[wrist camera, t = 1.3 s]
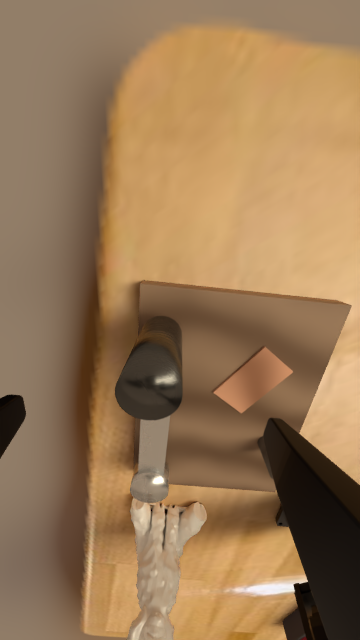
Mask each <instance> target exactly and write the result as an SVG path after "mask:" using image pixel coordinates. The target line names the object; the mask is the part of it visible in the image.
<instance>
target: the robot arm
mask: <svg viewBox="0 0 360 640" xmlns="http://www.w3.org/2000/svg"><path fill="white" fill-rule="evenodd" d="M25 416H26V411H25V406H24V401H23V397H21V396H20V395H6V396H4V397H2V398H0V458H1V456H2V455H3V453H4V452H5V450H6V448H7V447H8V445H9V444H10V442H11V440H12V439H13V437H14V436H15V434H16V432H17V431H18V429H19V428H20V426H21V424H22V423H23V421H24V419H25ZM263 440H264V444H265V448H266V452H267V456H268V460H269V464H270V468H271V472H272V476H273V480H274V483H275V487H276V490H277V493H278V496H279V499H280V502H281V505H282V506H281V509H280V511H279V513H278V515H277V517H276V520H275V521H276V524H277V525H278V526H286V527H289V529H290V531H291V534H292V537H293V540H294V543H295V545H296V548H297V551H298V554H299V557H300V560H301V563H302V566H303V568H304V571H305V574H306V577H307V580H308V582H305V583H302V584H299V583H296V584H294V589H295V593H294V594H295V597H296V601H297V605H298V609H299V612H300V616H301V620H302V624H303V628H304V632H305V635H306V639H307V640H360V485H359V484H358V483H357V482H355V481H354V480H353V479H352V478H351V477H350V476H348V475H347V474H346V473H345V472H344V471H342V470H341V469H340V468H339V467H338V466H337V465H335V464H334V463H333V462H332V461H331V460H330V459H328V458H327V457H326V456H325V455H324V454H322V453H321V452H320V451H319V450H318V449H317V448H315V447H314V446H313V445H312V444H311V443H310V442H308V441H307V440H306V439H305V438H304V437H302V436H301V435H300V434H299V433H298V432H297V431H295V430H294V429H293V428H292V427H291V426H290V425H288V424H287V423H286V422H285V421H284V420H282V419H281V418H273V417H271V418H269V419H268V421H267V424H266V427H265V430H264V434H263Z"/></svg>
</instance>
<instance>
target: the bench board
mask: <svg viewBox="0 0 360 640" xmlns="http://www.w3.org/2000/svg"><path fill="white" fill-rule="evenodd" d="M350 309H351V305H349V304H346V303H343V302H340V301H337V300H327V299H318V298H308V297H299V296H289V295H279V294H270V293H260V292H251V291H241V290H232V289H222V288H212V287H203V286H193V285H184V284H174V283H165V282H155V281H145V280H143V281H142V282H141V283H140V300H139V329H138V337H139V334H140V332H141V330H142V328H143V326H144V324H145V323H146V322H147V321H148V320H149V319H151V318H153V317H155V316H167V317H170V318H172V319H174V320H175V321H176V322H177V323H178V324H179V326H180V328H181V330H182V377H183V397H182V402H181V404H180V406H179V408H178V409H177V410H176V411H175V412H174V413H173V414H171V415H170V422H169V431H168V440H167V449H166V458H165V462H166V463H167V464H168V466H169V484H174V485H188V486H201V487H215V488H228V489H242V490H255V491H268V492H275V490H276V487H275V483H274V480H273V476H272V472H271V468H270V464H269V460H268V456H267V452H266V448H265V444H264V440H263V434H264V430H265V427H266V424H267V421H268V419H269V418H271V417H273V418H281V419H282V420H284V421H285V422H286V423H287V424H288V425H290V426H291V427H292V428H293V429H294V430H295V431H297V432H298V433H299V432H300V430H301V427H302V425H303V423H304V420H305V418H306V415H307V413H308V411H309V408H310V406H311V403H312V401H313V398H314V396H315V394H316V391H317V389H318V386H319V384H320V381H321V379H322V377H323V374H324V372H325V369H326V367H327V364H328V362H329V360H330V357H331V355H332V352H333V350H334V348H335V345H336V343H337V340H338V338H339V335H340V333H341V331H342V328H343V326H344V323H345V321H346V318H347V316H348V314H349V311H350ZM140 421H141V419H138V418H135V443H134V468H135V465H136V463H137V462H138V461H139V442H140ZM133 473H134V472H133Z"/></svg>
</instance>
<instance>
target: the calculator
mask: <svg viewBox="0 0 360 640" xmlns="http://www.w3.org/2000/svg"><path fill="white" fill-rule="evenodd" d="M283 625H284V629H285V634H286V638H287V640H307V639H306V635H305V632H304V628H303V624H302V620H301V616H300V612H299V609H298V608H297V609H296V610H295V611H294V612H293V613H291V614H290V615H289V616H288V617H287V618H285V619H284V620H283Z"/></svg>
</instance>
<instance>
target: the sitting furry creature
mask: <svg viewBox="0 0 360 640" xmlns="http://www.w3.org/2000/svg"><path fill="white" fill-rule="evenodd" d="M150 505H154V506H150ZM151 509H152V511H151ZM165 509H167V510H168V511H167V515H166V516H165V513H164V511H165ZM180 512H181V513H180ZM130 513H131V521H132V522H133V525H134V528H135V534H136V537H135V543H136V545H137V546H136V551H137V560H138V573H137V584H136V587H137V589H138V594H137V596H138V599H139V606H140V609H141V611H140V613H139V615H138V617H137V618H136V620H134V621H133V622H132V624H131V626H130V630H129V634H128V637H127V640H174V639H173V633H174V626H173V625H172V624H171V621H170V619H169V616H168V614H169V613H170V611H171V609H172V606H173V605H174V604H175V603H176V594H177V591H178V588H179V580H180V575H181V571H180V567H179V563H180V562H179V558H180V556H181V555H182V554H183V546H184V544H185V543H186V542H187V541H188V540H189V539H190V538H191V536H194V535H196V534H197V533H198V532H199V531H200V529H201V526H202V525H203V524H204V523H205V521H206V519H207V513H206V510H205V507H204V506H203V505H202V504H199V502H196V503H192V504H191V505H190V506H188V507H184V506H176V505H175V507H174V508H172V505H169V507H167V506H164V504H163V503H162V505H161V506H160V502H157V503H145V502H141V501H139V500H137V499H135V498H134V497H133V500H132V504H131V509H130Z"/></svg>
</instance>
